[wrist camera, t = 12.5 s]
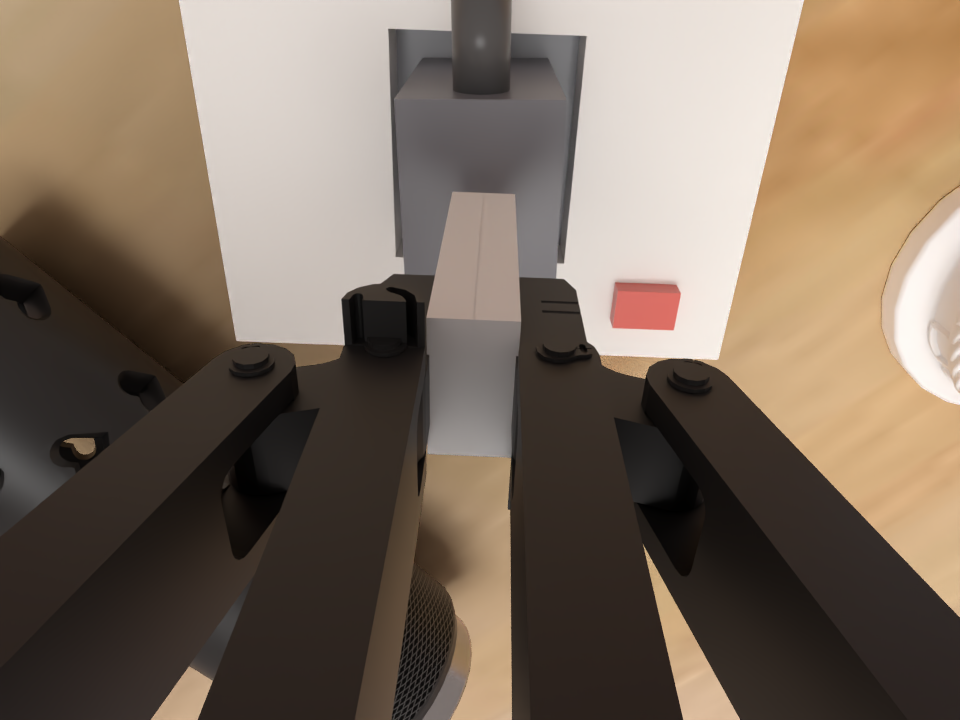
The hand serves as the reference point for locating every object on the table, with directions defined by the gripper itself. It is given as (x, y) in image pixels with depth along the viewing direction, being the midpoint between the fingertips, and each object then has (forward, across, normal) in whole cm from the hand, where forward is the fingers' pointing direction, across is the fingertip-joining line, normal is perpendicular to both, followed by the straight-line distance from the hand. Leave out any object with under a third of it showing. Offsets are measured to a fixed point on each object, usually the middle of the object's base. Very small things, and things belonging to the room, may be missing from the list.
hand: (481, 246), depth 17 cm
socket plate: (+11, 0, 0) cm, 11 cm away
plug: (+11, 0, -1) cm, 11 cm away
